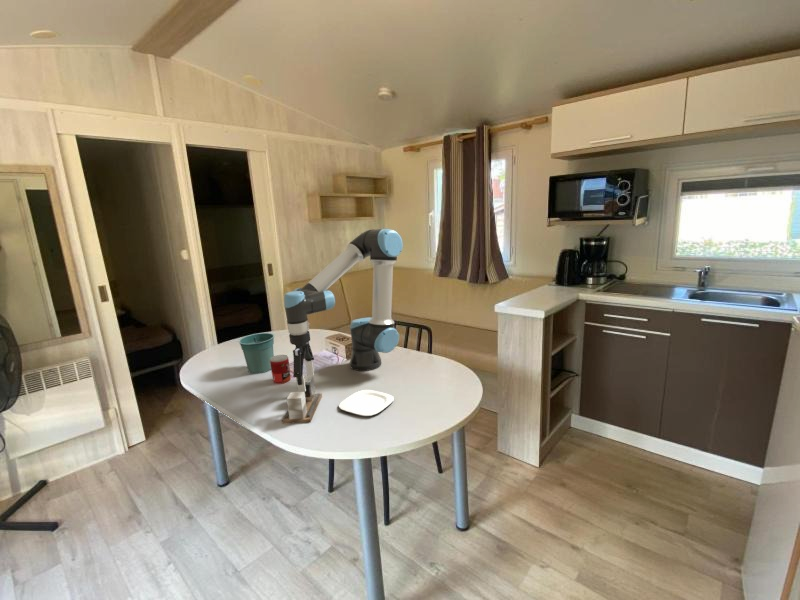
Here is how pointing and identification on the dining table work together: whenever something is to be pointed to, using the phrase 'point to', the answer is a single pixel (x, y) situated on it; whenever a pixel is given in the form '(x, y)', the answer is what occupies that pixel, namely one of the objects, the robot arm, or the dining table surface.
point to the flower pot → (258, 351)
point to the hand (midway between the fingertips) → (306, 383)
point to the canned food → (280, 369)
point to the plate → (366, 402)
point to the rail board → (300, 408)
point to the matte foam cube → (309, 388)
